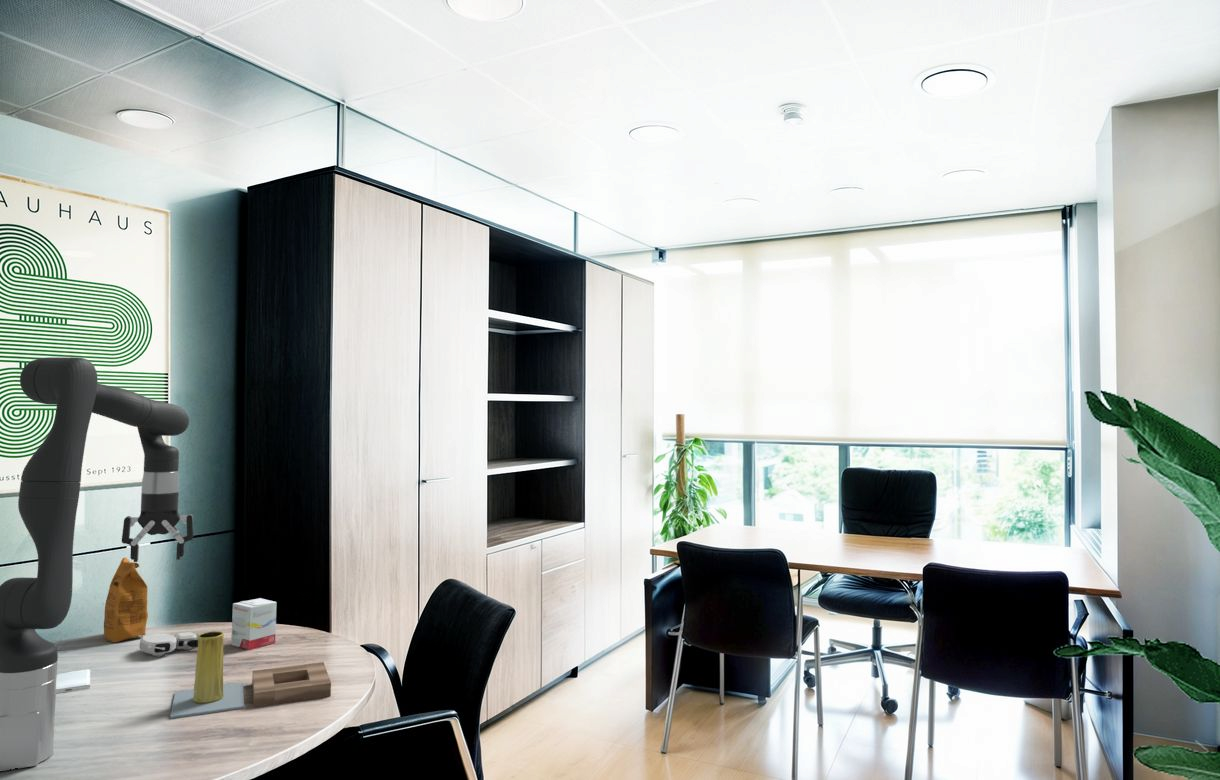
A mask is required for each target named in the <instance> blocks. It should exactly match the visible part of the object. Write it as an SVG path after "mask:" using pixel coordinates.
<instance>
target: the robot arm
mask: <svg viewBox="0 0 1220 780" xmlns="http://www.w3.org/2000/svg"><path fill="white" fill-rule="evenodd" d="M19 385H20V388H21V390H22V392H23V393H24V395H25V396H26V397H27V398H29V399H30V400H32V401H33V402H36V403H38V404H43V405H56V408H55V409H56V410H55V414H54V419H53V424H52V426H51V429H50V431H49V432H48V434H47V435H46V438H45V439H44V440H43V442H42V443H41V444H40V445H39V447H38V448H37V449H36V451H35V452H34V453H33V455H32V456H31V457H30V458H29V460H28V461H27V463H26V465H25V466H24V468H23V471H22V473H21V479H20V486H19V493H18V501H17V505H18V506H17V507H18V512H19V515H20V517H21V519H22V521H23V524H24V526H25V529H26V530H27V531H28V534H29V535H30V537H31V539H32V541H33V543H34V546H35V549H36V553H37V573H36V577H12V578H10V579H7V580H5V581H4V582H2V583H1V584H0V772H3V771H10V769H11V770H16V769H15V768H18V769H23V768H28V767H35V766H38V765H39V763H41V762H43V761H45V760H47V759H49V758H50V757H51V756H52V755H53V754H54V740H55V720H56V719H55V717H56V696H57V694H56V678H57V674H58V656H59V652H58V651H59V649H58V647H57V645H56V644H54V643H53V642H50V641H49V640H47V639H44V638H43V637H42V636H41V635H39V633H38V632H37V631H36V630H50V629H55V628H56V627H58V626H60V625H61V624H62V622H63V621H64V620H65V619H66V617H67V615H68V613H69V612H70V608H71V605H72V598H73V582H74V581H73V577H74V576H73V570H74V569H73V563H74V562H73V561H74V560H73V559H74V558H73V556H74V553H73V552H74V539H75V530H76V529H75V527H76V519H77V511H78V505H79V498H80V491H81V482H82V481H81V480H82V470H83V469H82V468H83V463H84V462H83V461H84V455H85V447H86V441H87V436H88V435H87V434H88V430H89V426H90V421H91V418H92V414H96V415H99V416H102V417H105V418H107V419H111V420H114V421H116V422H119V423H122V424H125V425H128V426H131V427H136V428H137V432H138V436H139V440H140V443H141V446H142V451H143V455H144V458H143V474H142V479H141V492H140V493H141V495H140V496H141V497H140V514H139V516H138V517H135V516H133V517H132V516H129V515H128V516H126V517H125V518H124V519H123V523H122V524H123V526H122V534H121V543H122V544H124V545H125V544H126V545H129V546H130V557H129V558H130V560H131V561H133V562H134V563H138V562H139V550H140V549H139V548H140V547H139V546H140V545H139V543H140V541H141V540H142V539H143V538H144V537H145V536H146V535H150V536H155V535H168V534H170V535H171V536H172V537H174V539H175V540H176V541H177V544H176V561H178V560H181V558H183V557H184V554H185V543H186V542H188V541H189V542H190V541H192V540H193V539H194V515H193V514H192V513H189V514H185V515H180V514H179V495H180V494H179V493H180V491H179V490H180V477H179V475H180V474H179V466H180V465H179V464H180V450H179V449H178V448H177V447H175V446H172V445H169V444H166V443H165V441H164V439H163V437H165V436H166V437H172V436H173V437H174V436H175V437H176V436H180V435H181V434H183V433H185V432H186V430H187V429H188V427H189V424H190V416H189V415H188V413H187V411H186V410H185V409H184V408H182V407H181V406H179V405H176V404H173V403H169V402H166V401H159V400H155V399H151V398H148V397H146V396H144V395H142V394H139V393H137V392H134V391H132V390H128V389H125V388H121V387H117V386H113V385H112V386H111V385H107V384H102V383H98V373H97V369H96V368H95V365H94V364H93V363H92V362H91V361H90V360H89V359H86V358H84V357H64V356H63V357H61V356H60V357H53V356H51V357H48V356H47V357H42V358H41V357H40V358H35V359H33V360H31V361H30V362H28V363H26V365H24V367H23V368H22V370H21V372H20V376H19ZM180 521H182V524H183V525H186V535H184V536H183V535H182V534H181V532H180V530H179V529H178V528H177V527H176V526H177V524H178V523H179V522H180ZM136 523H138V525H140V527H141V531H139V533H138V534H137V535H136V536H135V537H134V538H132V537H131V536H130V534H131V527H133V526H135V524H136Z"/></svg>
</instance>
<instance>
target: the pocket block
mask: <svg viewBox="0 0 1220 780" xmlns="http://www.w3.org/2000/svg"><path fill="white" fill-rule="evenodd" d="M251 677H252V679H251V680H252V681H251V682H252V683H251V686H252V699H253V707H254V708H257V707H262V706H271V705H277V704H283V703H292V702H298V701H305V700H311V699H317V698H319V699H320V698H327V697H331V694H332V692H331V691H332V682H331V678H330V675H329V674H328V671H327V667H326V665H325V662H323V661H322V662H315V663H313V662H311V663H305V664H297V665H289V666H282V667H273V668H264V669H257V670H252V676H251Z"/></svg>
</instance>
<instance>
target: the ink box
mask: <svg viewBox="0 0 1220 780" xmlns="http://www.w3.org/2000/svg"><path fill="white" fill-rule="evenodd" d="M231 618H232V619H231V620H232V621H231V638H230V639H231V640H230V645H231V646H234V647H238V648H242V649H246V650H249V651H251V650H255V649H258V648H261V647H265V646H269V645H272V644H275V643H276V633H277V631H276V627H277V601H273V600H269V599H265V598H262V597H259V598H255V599H254V598H253V599H249V600H242V601H241V600H240V601H239V602H234V603H232V617H231Z"/></svg>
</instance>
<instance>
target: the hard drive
mask: <svg viewBox="0 0 1220 780" xmlns="http://www.w3.org/2000/svg"><path fill="white" fill-rule="evenodd" d="M88 689H91V669H82V670H81V669H80V670H73V671H68V672H59V673H57V678H56V695H57V694H62V693H63V694H64V693H68V692H76V691H81V690H82V691H83V690H88Z"/></svg>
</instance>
